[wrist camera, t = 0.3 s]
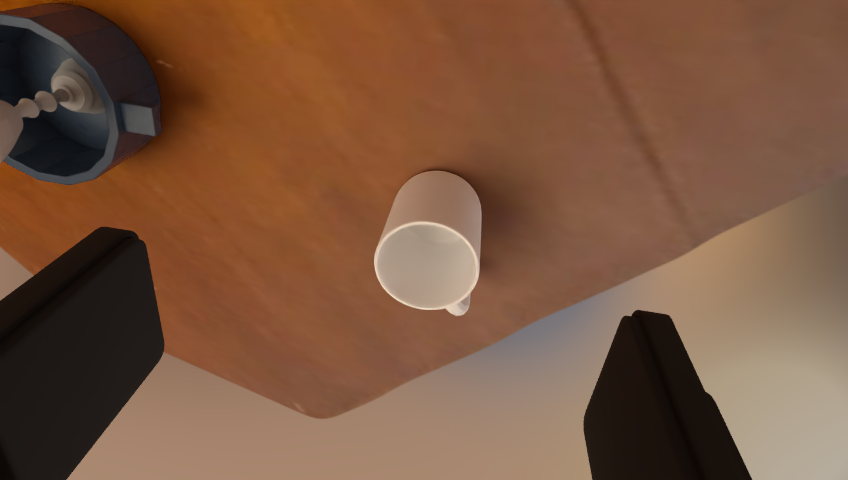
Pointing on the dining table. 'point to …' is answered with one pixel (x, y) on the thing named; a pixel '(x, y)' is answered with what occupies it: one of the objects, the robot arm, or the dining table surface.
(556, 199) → the dining table surface
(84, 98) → the chalice
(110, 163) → the pot
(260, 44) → the dining table surface
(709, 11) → the dining table surface
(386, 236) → the mug
